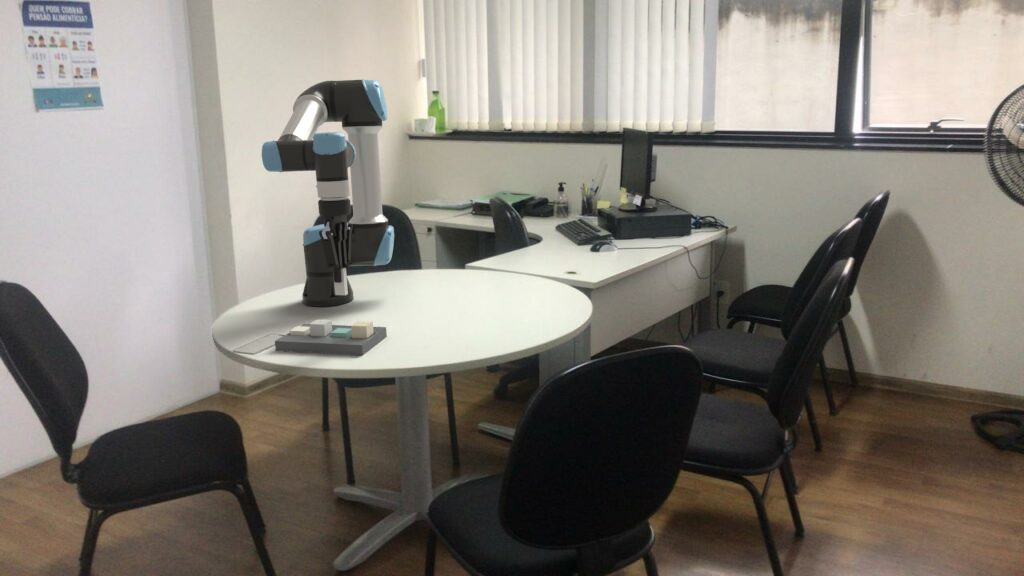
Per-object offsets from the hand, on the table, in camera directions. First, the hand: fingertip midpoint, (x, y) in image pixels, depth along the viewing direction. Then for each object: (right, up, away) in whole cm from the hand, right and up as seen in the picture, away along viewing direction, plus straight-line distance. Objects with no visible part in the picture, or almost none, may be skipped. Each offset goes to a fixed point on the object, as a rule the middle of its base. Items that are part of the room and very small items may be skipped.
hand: (341, 294), depth 195 cm
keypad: (-3, -12, +5) cm, 14 cm away
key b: (-6, -10, +5) cm, 13 cm away
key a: (-11, -12, +6) cm, 18 cm away
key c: (-1, -12, +4) cm, 13 cm away
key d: (+5, -10, +2) cm, 12 cm away
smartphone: (-21, -13, +6) cm, 26 cm away
